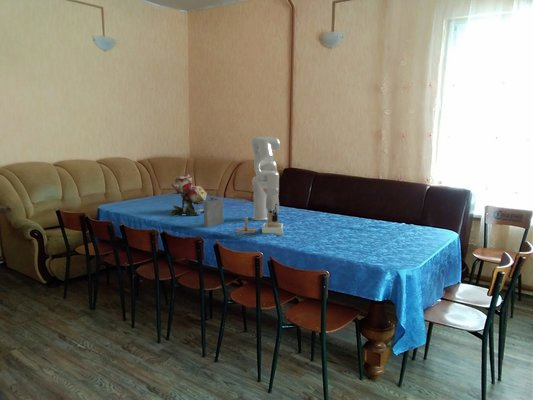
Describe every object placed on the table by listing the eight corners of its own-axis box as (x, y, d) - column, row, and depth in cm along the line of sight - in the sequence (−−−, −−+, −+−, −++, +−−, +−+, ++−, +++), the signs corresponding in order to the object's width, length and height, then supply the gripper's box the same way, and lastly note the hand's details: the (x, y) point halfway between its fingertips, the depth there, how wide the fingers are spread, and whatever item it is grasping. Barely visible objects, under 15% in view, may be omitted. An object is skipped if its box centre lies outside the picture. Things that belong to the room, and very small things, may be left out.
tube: (267, 228, 276) (267, 213, 274) (274, 227, 278) (274, 212, 276) (270, 230, 272) (270, 214, 270) (278, 229, 274) (278, 214, 272)
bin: (264, 230, 282) (264, 223, 281) (282, 231, 281) (282, 223, 280) (262, 235, 270) (262, 227, 269) (281, 235, 269) (281, 228, 268)
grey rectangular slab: (206, 227, 291) (205, 198, 287) (202, 226, 293) (201, 197, 290) (224, 223, 302) (223, 195, 298) (220, 222, 305) (219, 194, 301)
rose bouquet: (205, 216, 327) (204, 176, 321) (167, 216, 327) (165, 176, 322) (210, 209, 352) (209, 172, 347) (174, 209, 352) (172, 172, 347)
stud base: (238, 230, 283) (238, 214, 281) (256, 230, 282) (256, 214, 280) (235, 234, 271) (235, 218, 270) (254, 235, 270) (254, 218, 269)
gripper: (261, 190, 277) (261, 218, 280) (273, 194, 262) (273, 223, 265) (272, 189, 280) (272, 217, 283) (284, 193, 265) (284, 222, 268)
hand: (272, 220), depth 274 cm, fingers closed on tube, 5 cm apart
